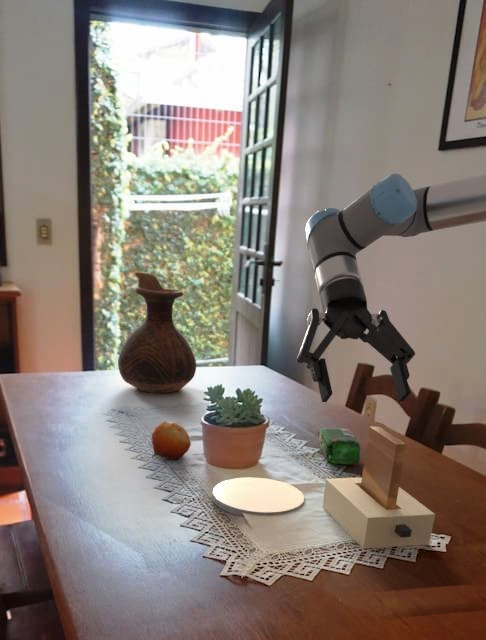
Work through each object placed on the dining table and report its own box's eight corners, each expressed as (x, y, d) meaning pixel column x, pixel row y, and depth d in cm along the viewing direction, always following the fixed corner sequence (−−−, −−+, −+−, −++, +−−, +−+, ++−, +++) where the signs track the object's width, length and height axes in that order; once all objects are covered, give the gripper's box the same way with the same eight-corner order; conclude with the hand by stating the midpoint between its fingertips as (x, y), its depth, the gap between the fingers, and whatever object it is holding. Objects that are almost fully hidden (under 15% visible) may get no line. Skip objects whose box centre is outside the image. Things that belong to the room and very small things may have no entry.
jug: (203, 383, 199) (208, 276, 188) (184, 400, 180) (189, 282, 168) (132, 376, 204) (133, 270, 192) (106, 392, 184) (106, 276, 173)
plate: (285, 481, 128) (286, 475, 128) (317, 516, 114) (318, 510, 114) (203, 485, 125) (203, 478, 124) (225, 521, 111) (225, 514, 110)
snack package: (346, 446, 151) (349, 423, 149) (361, 470, 137) (365, 445, 135) (314, 444, 151) (317, 421, 149) (326, 468, 137) (329, 443, 135)
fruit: (148, 440, 143) (168, 410, 139) (179, 462, 143) (200, 433, 140) (137, 452, 135) (158, 421, 132) (169, 475, 136) (191, 445, 132)
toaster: (380, 508, 119) (385, 476, 117) (435, 555, 103) (442, 519, 101) (321, 511, 116) (325, 478, 114) (368, 560, 100) (374, 523, 98)
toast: (365, 512, 114) (378, 426, 108) (390, 535, 106) (406, 444, 100) (356, 513, 114) (369, 426, 108) (381, 536, 106) (396, 444, 100)
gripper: (396, 306, 124) (424, 408, 116) (266, 302, 118) (286, 410, 111) (416, 278, 117) (447, 385, 110) (278, 273, 112) (301, 385, 104)
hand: (366, 397), depth 110 cm, fingers open, 13 cm apart
